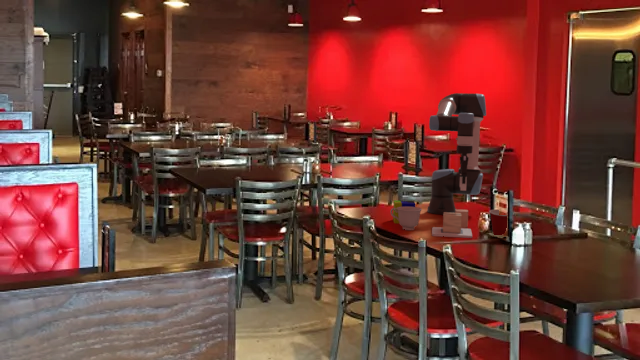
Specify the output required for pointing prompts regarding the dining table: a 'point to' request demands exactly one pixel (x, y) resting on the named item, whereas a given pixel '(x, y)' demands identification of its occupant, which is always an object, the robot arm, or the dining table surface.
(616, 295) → the dining table surface
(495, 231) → the plastic cup
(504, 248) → the dining table surface
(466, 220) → the terracotta block
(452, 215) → the oak cube
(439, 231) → the base
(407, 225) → the teacup
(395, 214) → the puzzle toy
